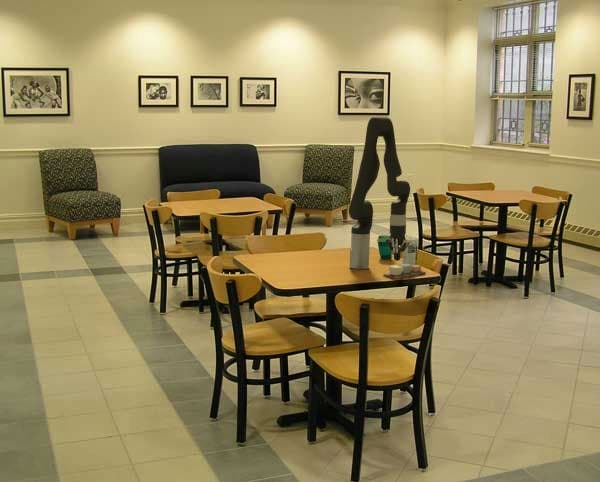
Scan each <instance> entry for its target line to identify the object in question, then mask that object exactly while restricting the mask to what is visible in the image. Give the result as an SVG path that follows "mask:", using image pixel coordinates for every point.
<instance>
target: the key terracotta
mask: <svg viewBox="0 0 600 482" xmlns="http://www.w3.org/2000/svg"><path fill="white" fill-rule="evenodd" d="M419 271H422V266H421V265H418V264H417V265H414V264H413V265H412V269H411V272H414V273H415V272H419Z"/></svg>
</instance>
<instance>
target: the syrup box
mask: <svg viewBox="0 0 600 482" xmlns="http://www.w3.org/2000/svg"><path fill="white" fill-rule="evenodd" d="M405 238H406V239H405V240H406V241H407V242H409V245H408V246H407V248H406V249H405V251H404V252H402V254H401V255H402V257H401V258H402V260H401V261H402V262H401V264H409V265H413V264H414V265H418V242H419V241H418V240H419V239H418V238H416V237H405Z"/></svg>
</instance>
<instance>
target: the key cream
mask: <svg viewBox="0 0 600 482" xmlns="http://www.w3.org/2000/svg"><path fill="white" fill-rule="evenodd" d="M388 271H389V273H390V274H392V275H400V274H401V272H402V271H403V267H402V266H398V264H394V265H388Z"/></svg>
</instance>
